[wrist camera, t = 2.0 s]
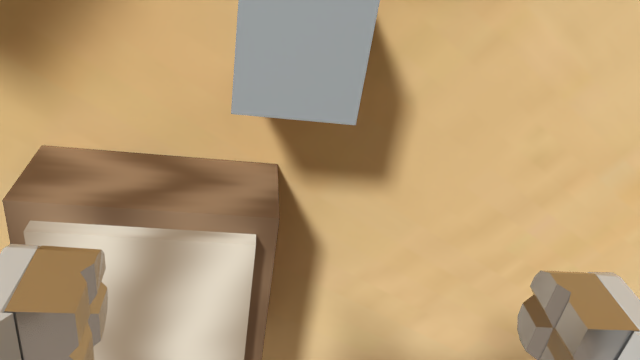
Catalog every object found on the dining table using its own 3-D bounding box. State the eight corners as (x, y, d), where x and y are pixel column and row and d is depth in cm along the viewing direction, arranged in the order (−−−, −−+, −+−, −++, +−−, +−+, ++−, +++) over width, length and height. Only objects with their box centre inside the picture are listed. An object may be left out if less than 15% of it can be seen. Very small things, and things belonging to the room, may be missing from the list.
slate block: (356, -34, 25) (380, 0, 20) (338, 71, 28) (355, 125, 23) (244, -49, 24) (239, -18, 19) (237, 61, 27) (231, 113, 22)
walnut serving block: (277, 164, 30) (279, 228, 25) (258, 323, 36) (257, 400, 31) (41, 145, 28) (-5, 210, 23) (64, 316, 34) (30, 396, 30)
